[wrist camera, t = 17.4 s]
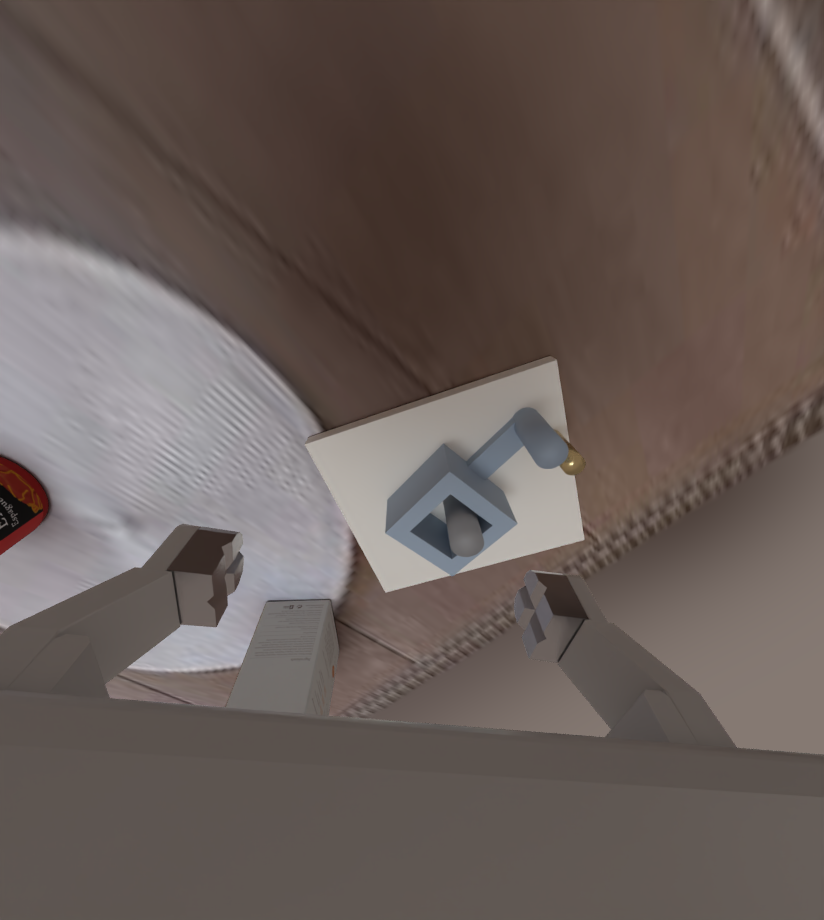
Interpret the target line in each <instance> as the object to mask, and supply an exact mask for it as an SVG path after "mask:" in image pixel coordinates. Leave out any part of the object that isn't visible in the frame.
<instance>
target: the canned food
mask: <svg viewBox="0 0 824 920" xmlns="http://www.w3.org/2000/svg"><path fill="white" fill-rule="evenodd" d="M48 507H49V505H48V499H47V496H46V493H45V491H44V490H43V488H42V487H41V485H40V483H39V482H38V481H37V480H36V479H35V478H34V477H33V476H32V475H31V474H30V473H28V472H27V471H26V470H25V469H23V468H22V467H20V466H19V465H17V464H15V463H13V462H11V461H9V460H7V459H5V458H3V457H0V555H1V554H2V553H4V552H5V551H6V550H8V549H9V548H10V547H12V546H13V545H15V544H16V543H17V542H19V541H20V540H21V539H23V538H24V537H25V536H27V535H28V534H29V533H31V532H32V531H33V530H35V529H36V528H37V527H38V526H39V525H40V523H41V522H42V521H43V519H44V518H45V516H46V514H47V512H48Z"/></svg>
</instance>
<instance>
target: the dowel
mask: <svg viewBox="0 0 824 920" xmlns="http://www.w3.org/2000/svg"><path fill="white" fill-rule="evenodd" d="M554 431H555V432H556V433H557V434H558V435H559V436H560V437H561V438H562V440H563V441H564V442H565V443H566V444H567V446H568V450H569V451H568V456H567V458H566V460H565V461H564V462H563V463H562V464H561V465H559V466H560V467H561V469H562V470H563V471H564V472H565V473H566V474H567V475H577V474H579V473H580V472H582V471H583V469H584V468H585V464H586V462H585V460H584V458H583V457H582V456H581V455H580V454H579V453H578V452H577V451H576V450H575V448H574V447H573V446H572V445H571V444H570V443H569V442H568V441H567V440H566V439H565V438H564V436H563V435H562V434H561V433H560V432H559V431H558V430H555V429H554Z"/></svg>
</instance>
